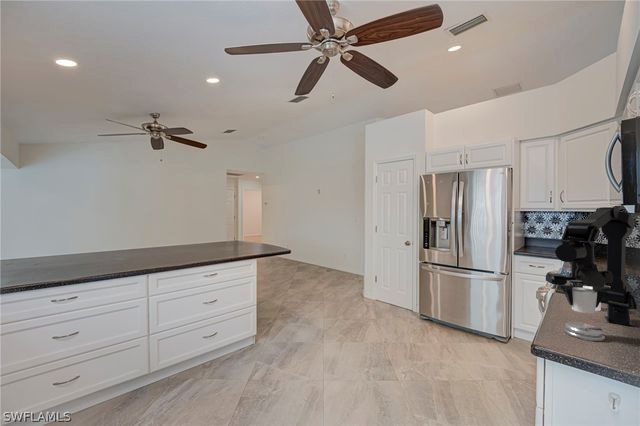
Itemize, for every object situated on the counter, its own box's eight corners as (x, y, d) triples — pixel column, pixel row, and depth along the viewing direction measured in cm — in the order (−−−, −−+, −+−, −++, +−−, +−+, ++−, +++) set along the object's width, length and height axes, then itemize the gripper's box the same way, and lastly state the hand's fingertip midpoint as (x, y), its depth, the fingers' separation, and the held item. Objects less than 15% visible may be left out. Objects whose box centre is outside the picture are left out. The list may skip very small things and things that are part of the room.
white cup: (592, 308, 95) (591, 288, 95) (601, 315, 89) (601, 293, 89) (566, 306, 98) (566, 286, 98) (574, 312, 92) (573, 291, 92)
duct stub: (562, 326, 100) (562, 319, 100) (601, 333, 94) (601, 325, 94) (565, 336, 92) (565, 328, 92) (608, 344, 86) (608, 336, 86)
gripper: (558, 262, 89) (559, 311, 89) (636, 265, 82) (637, 317, 82) (544, 257, 99) (545, 300, 99) (612, 259, 93) (613, 305, 93)
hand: (583, 306), depth 93 cm, fingers closed on white cup, 6 cm apart
